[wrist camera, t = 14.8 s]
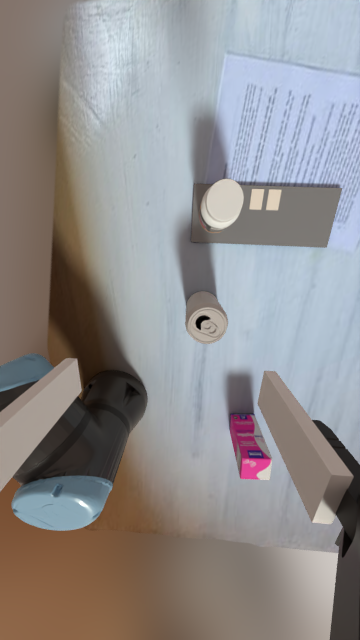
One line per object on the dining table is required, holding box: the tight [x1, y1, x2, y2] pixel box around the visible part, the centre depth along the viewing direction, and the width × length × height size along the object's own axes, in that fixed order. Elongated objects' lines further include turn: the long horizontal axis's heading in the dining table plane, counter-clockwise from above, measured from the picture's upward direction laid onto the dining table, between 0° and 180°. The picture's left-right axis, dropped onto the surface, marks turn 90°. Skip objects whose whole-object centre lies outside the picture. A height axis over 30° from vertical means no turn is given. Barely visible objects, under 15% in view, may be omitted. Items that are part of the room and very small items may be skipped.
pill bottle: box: [199, 179, 244, 233], centre depth 29 cm, size 6×6×10 cm
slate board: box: [191, 184, 342, 248], centre depth 33 cm, size 24×9×1 cm, turn 88°
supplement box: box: [230, 414, 272, 480], centre depth 42 cm, size 6×6×12 cm
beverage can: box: [185, 291, 228, 344], centre depth 33 cm, size 6×6×12 cm
